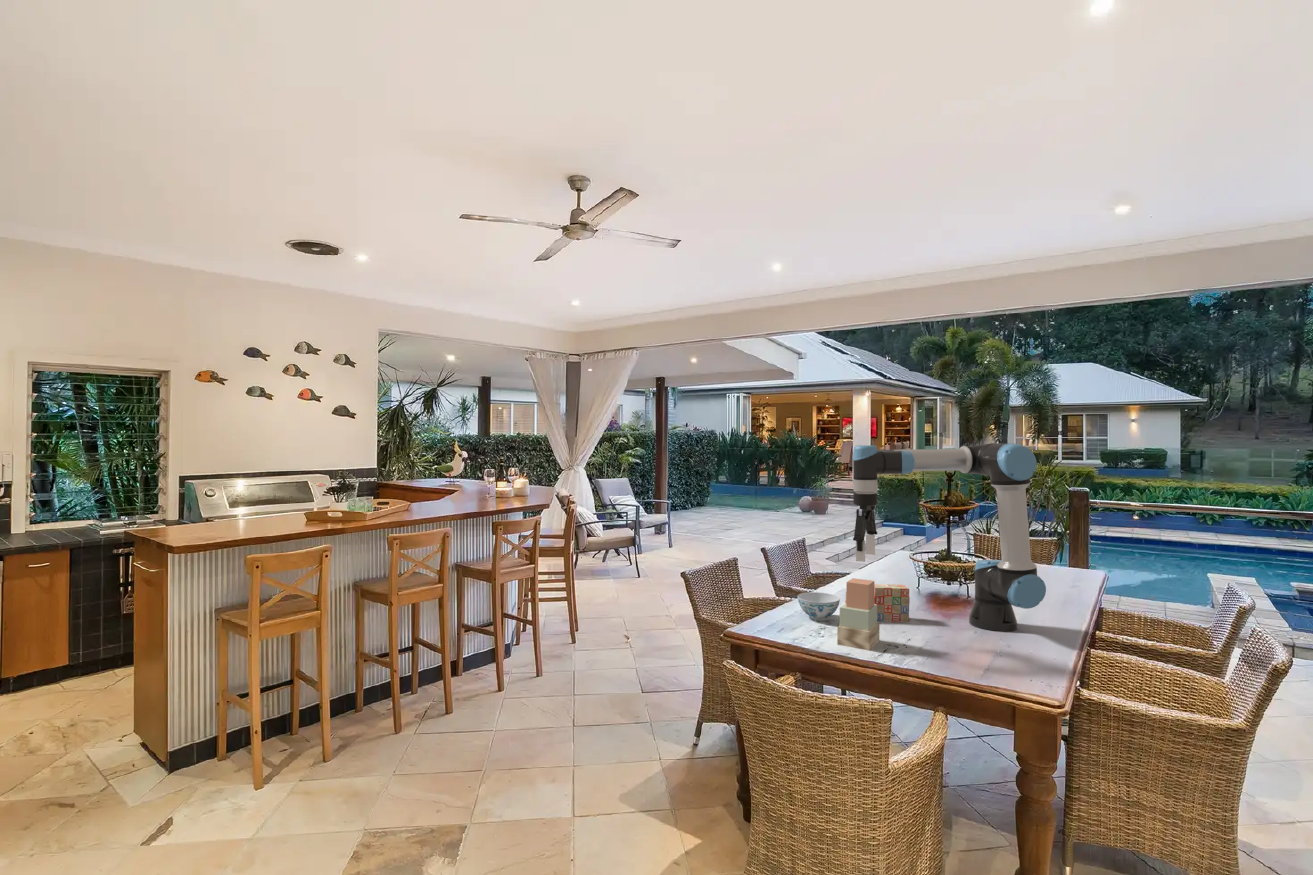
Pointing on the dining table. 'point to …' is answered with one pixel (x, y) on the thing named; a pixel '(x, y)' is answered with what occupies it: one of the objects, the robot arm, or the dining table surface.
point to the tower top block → (858, 617)
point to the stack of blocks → (892, 602)
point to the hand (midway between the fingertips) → (865, 557)
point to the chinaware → (818, 604)
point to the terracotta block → (860, 594)
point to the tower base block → (858, 637)
